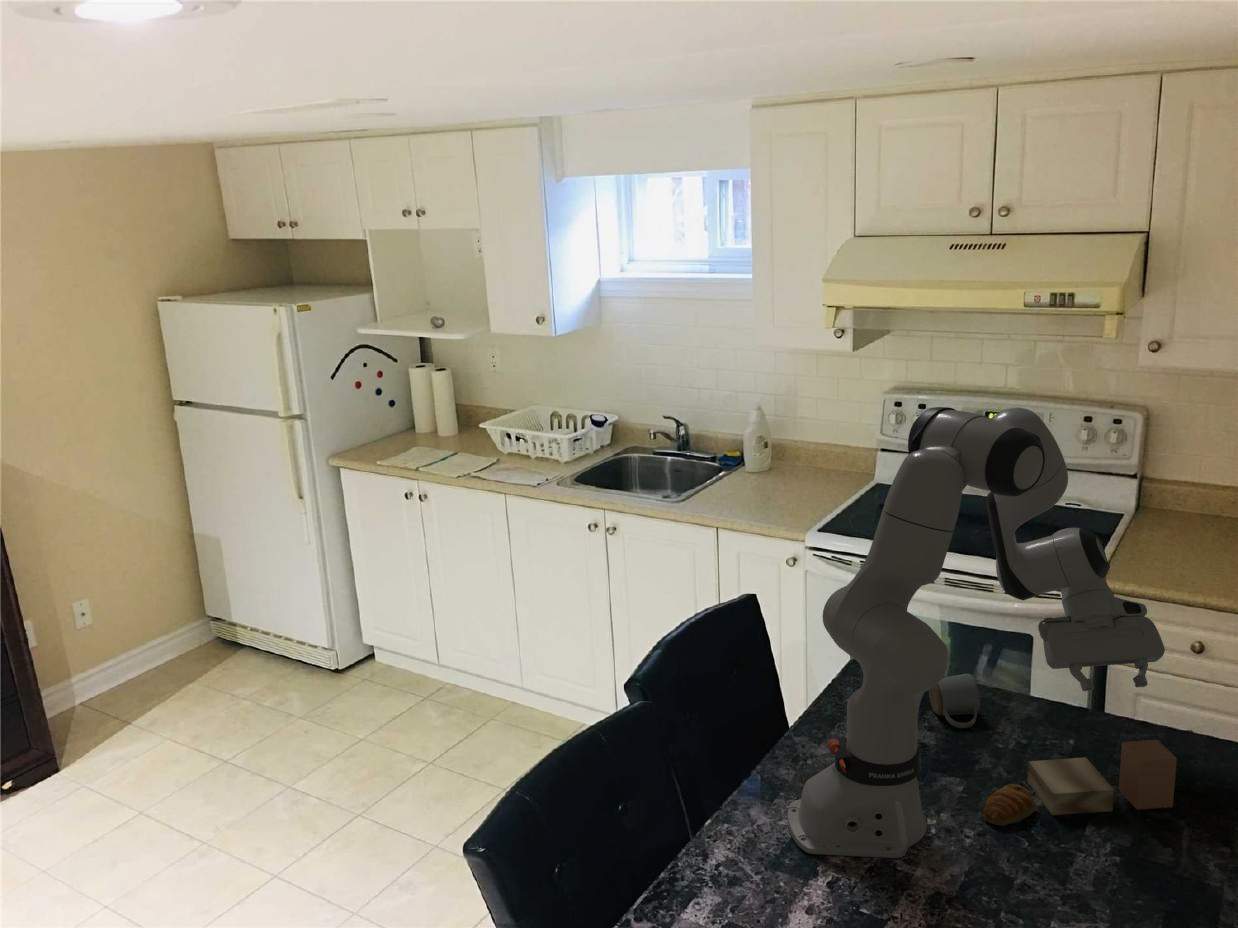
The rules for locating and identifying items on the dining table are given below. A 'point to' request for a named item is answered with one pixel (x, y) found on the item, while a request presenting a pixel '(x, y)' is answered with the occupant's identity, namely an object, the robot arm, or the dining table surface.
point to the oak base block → (1070, 786)
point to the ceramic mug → (956, 698)
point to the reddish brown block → (1147, 774)
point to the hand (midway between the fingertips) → (1115, 688)
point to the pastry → (1009, 805)
